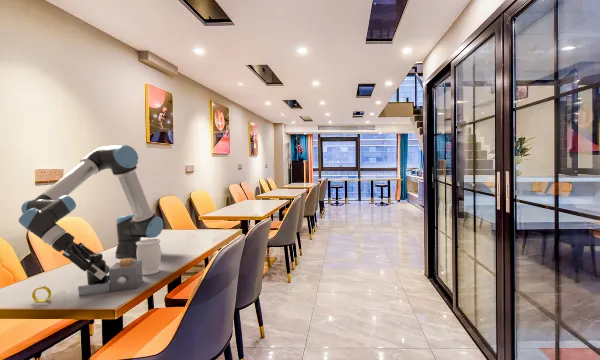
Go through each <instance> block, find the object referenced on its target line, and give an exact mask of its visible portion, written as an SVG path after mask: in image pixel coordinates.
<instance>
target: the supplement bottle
mask: <svg viewBox="0 0 600 360" xmlns="http://www.w3.org/2000/svg"><path fill="white" fill-rule="evenodd" d="M88 262H89V263H90V264H91V265H92V264H93V265H95V266H96V267H97V268H99V269H100V270H101V271H103V272H104V273H106V265H107V263H106V262H107V261H105V260H104V259H103V253H96V254H92V255H89V260H88ZM106 275H107V274H106ZM106 275H105V276H104V277H103V278H102V279H101V280H100V279H99V278H98V277H96V276H95V275H93V274H92V273H91V272H89V271H88V270H86V279H87V280H86V281H87V285H90V284H99V283H106V281H107V276H106Z"/></svg>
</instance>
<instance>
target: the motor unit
mask: <svg viewBox="0 0 600 360" xmlns="http://www.w3.org/2000/svg"><path fill="white" fill-rule="evenodd" d="M133 258H134V257H131V258H120V260H119V262H115V263H114V264H113V265H112V266H111V267H110V269H109V272H108V274H106V276H107V281H106V283H99V284H90V285H88V284H82V285H81V284H80V285H78V287H77V290H78V292H77V293H78V296H79V297H81V296H91V295H98V294H99V295H100V294H106V293H108V294H109V293H111V292H117V291H126V290H135V289H138V288H139V287H140V285H141V284H142V283H143V279H144V278H143V277H144V276H143V275H142V262H141V260H138V261H137V260H133Z"/></svg>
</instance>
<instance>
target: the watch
mask: <svg viewBox="0 0 600 360" xmlns="http://www.w3.org/2000/svg"><path fill="white" fill-rule="evenodd" d="M37 290H46V291H47V295H48V296H47V298H46V299H38V298H37V296H36V292H37ZM31 297H32V300H33V301H34V302H36V303H45V302H47V301H49V300H50V299H51V297H52V291H51V289H50V288H49V287H48V286H46V284H43V285H38V286H36V288H35V289H34V290H33V291H32V293H31Z"/></svg>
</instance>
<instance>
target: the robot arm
mask: <svg viewBox="0 0 600 360" xmlns="http://www.w3.org/2000/svg"><path fill="white" fill-rule="evenodd" d="M138 162H139V155H138V153H137V151H136V149H135V148H134V147H132V146H130V145H127V144H118V145H105V146H100V147H98V148H96V149H95V150H92V151H91V152H89V153H88V154H87V155H85V156H84V157H83V158H82V159H80V160H79V164H78V165H76V166H75V167H73V169H71V170H69V172H67V173H66V174H64V175H63V176H62V177H61V178H59V180H57V181H56V182H55V183H53V184H52V185H51V186H50V187H49V188H47V189H46V190H45V191H43V192H42V193H40V195H38V196H37V197H36V198H34V199H29V200H26V201H24V203H23V204H21V209H20V210H21V215H20V217H19V218H18V223H19V224H20V225H21V226H22V227H23V228H25V229H26V230H27V231H29V232H30V233H32V234H33V235H35V236H36V237H37V238H39V239H40V240H42V241H43V243H44V244H47V245H48V246H51V248H52V249H54V250H55V251H56V252H58V253H61V252H62V251H63V253H62V256H63V257H64V258H66V259H68V260H69V261H70V262H72V263H73V264H74V265H76V266H77V267H78V268H79V269H80V270H82V271H83V272H87V270H88V271H89V272H91V273H92V274H93V275H95V276H96V277H98V278H99V279H100V280H101V279H102V278H103V277H104V276H105V275H108V274H109V269H110V268H111V267H110V266H109V265H108V264H106V273H104V272H103V271H101V270H100V269H99V268H97V267H96V266H95V265H93V264H92V265H91V264H90V263H89V255H92V254H97V253H96V252H94V251H92V250H91V249H90V248H89V247H87V246H85V244H83V243H82V242H79V243H76V242H75V241H74V240H75V236H73V234H71V233H69V232H67V230H66V229H65V228H63V227H61V226H60V225H59V224H57V222H59V221H60V220H61V219H64V218H65V217H66V216H67V215H68V214H71V213H72V212H73V211H74V210H75V209H76V207H77V203H76V201H75V200H74V199H73V198H72V197H71V196H69V195H70V194H71V193H72V192H74V191H75V190H76V189H77V188H79V186H81V185H82V184H84V182H85V181H86V180H88V179H89V178H90V177H91V176H93V175H97V174H98V173H99V172H102V171H104V170H106V169H110V170H111V173H112V174H113V176H116V177H117V178H118V181H119V183H120V185H121V188H122V189H123V192H124V195H125V197H126V200H127V201H128V205H129V206H130V209H131V211H132V213H131V214H126V215H122V216H119V217H117V218H116V232H117V246H116V249H115V253H114V254H115V256H114V257H115V258H117V259H123V258H137V254H136V253H137V245H136V242H138V241H142V238H148V239H155V238H157V237H159V235H161V233H162V231H163V228H164V221H163V219H162V218H161V217H160V216H157V215H156V213H155V211H154V209H151V208H150V205H149V203H148V200H147V198H146V196H145V193H144V189H143V188H142V185H141V182H140V179H139V177H138V175H137V172H136V170H137V168H138V167H137V165H138Z"/></svg>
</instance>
